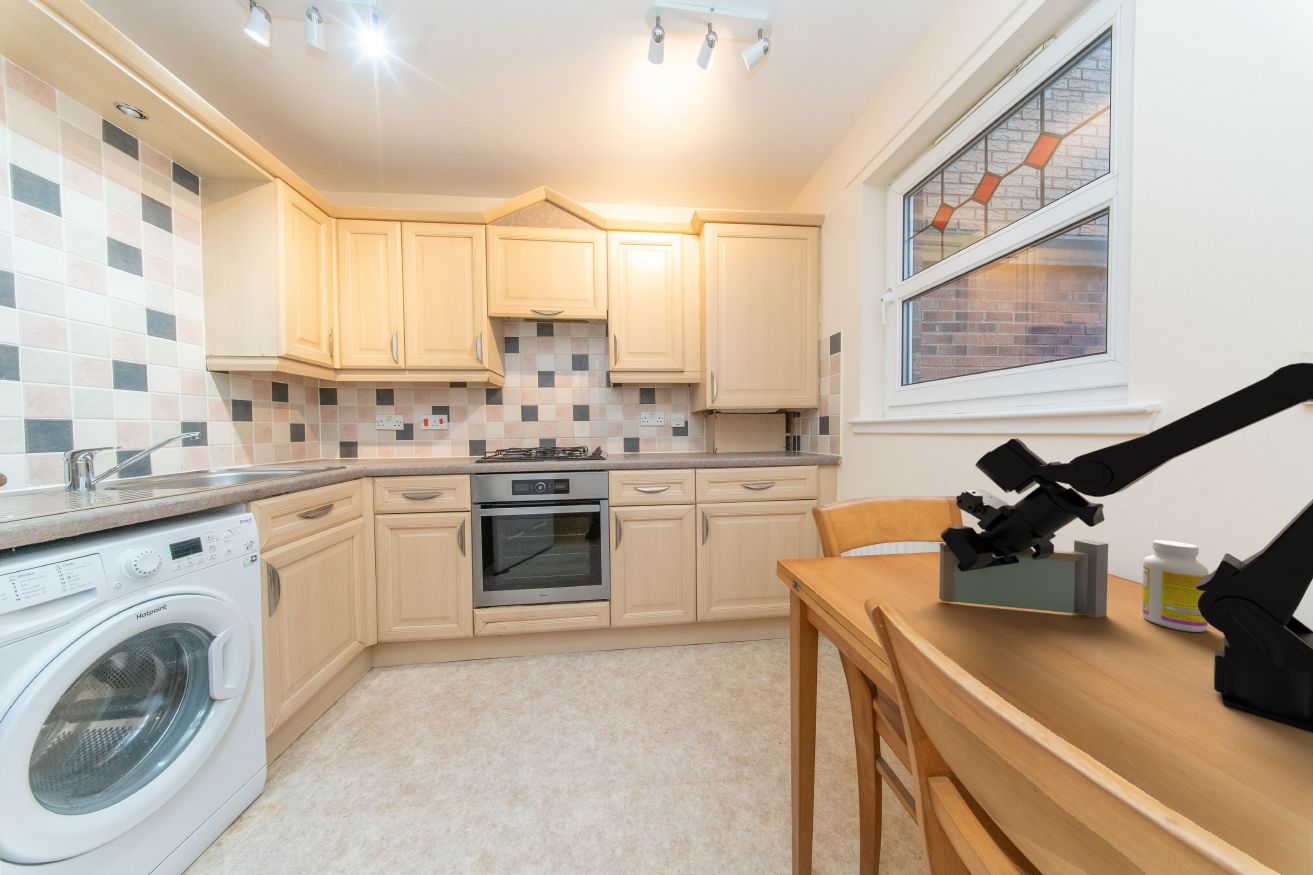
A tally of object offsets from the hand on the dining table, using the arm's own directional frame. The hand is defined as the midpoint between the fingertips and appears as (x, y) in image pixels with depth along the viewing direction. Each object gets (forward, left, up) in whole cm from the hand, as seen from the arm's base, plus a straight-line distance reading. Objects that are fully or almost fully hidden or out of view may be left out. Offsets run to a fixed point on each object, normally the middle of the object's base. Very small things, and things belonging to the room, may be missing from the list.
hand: (960, 568), depth 75 cm
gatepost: (-15, -14, -6) cm, 21 cm away
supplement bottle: (-23, -19, -7) cm, 31 cm away
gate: (-6, -5, -6) cm, 10 cm away
